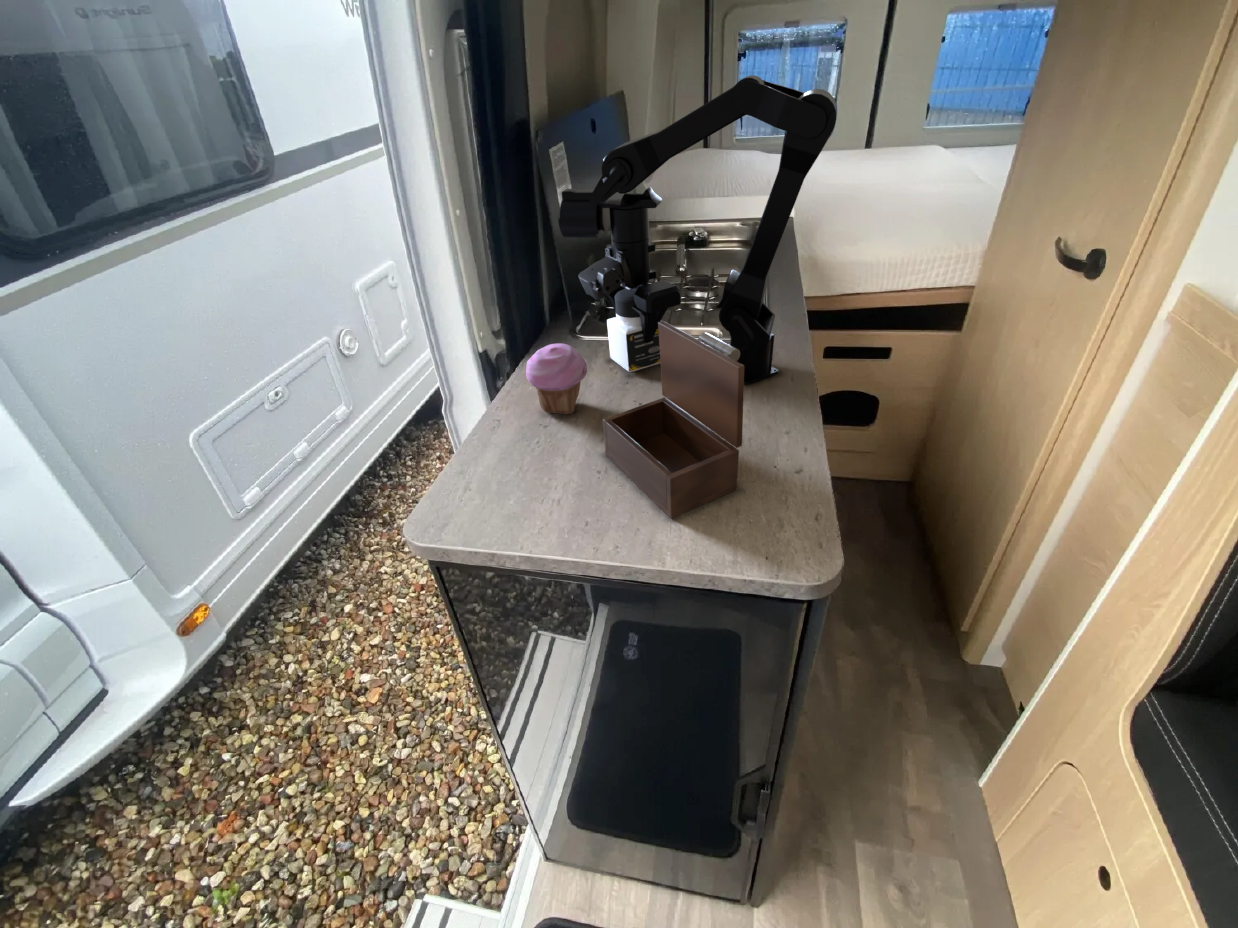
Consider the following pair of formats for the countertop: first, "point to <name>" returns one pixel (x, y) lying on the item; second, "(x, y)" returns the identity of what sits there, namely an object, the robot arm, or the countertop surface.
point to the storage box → (671, 456)
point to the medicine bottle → (630, 336)
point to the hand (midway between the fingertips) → (635, 335)
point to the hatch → (703, 380)
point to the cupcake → (556, 377)
